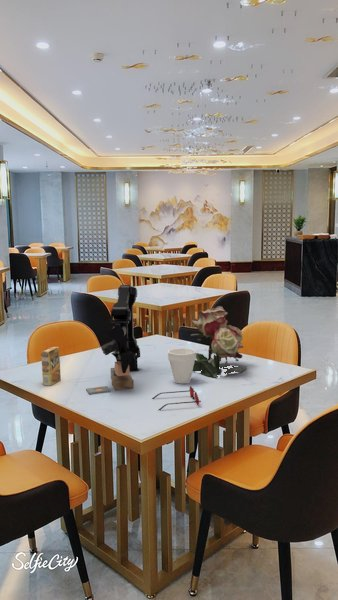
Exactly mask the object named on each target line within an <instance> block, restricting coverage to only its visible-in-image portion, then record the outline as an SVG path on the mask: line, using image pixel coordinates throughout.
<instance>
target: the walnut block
mask: <svg viewBox="0 0 338 600" xmlns="http://www.w3.org/2000/svg"><path fill="white" fill-rule="evenodd" d="M134 384H135V383H134V378H132V376H131V375H130V374H129V375H123V376H112V379H111V386H112V387H113V390H114V391H121V390H122V391H123V390H131V389H132V390H133V388H134V387H135V386H134Z"/></svg>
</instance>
